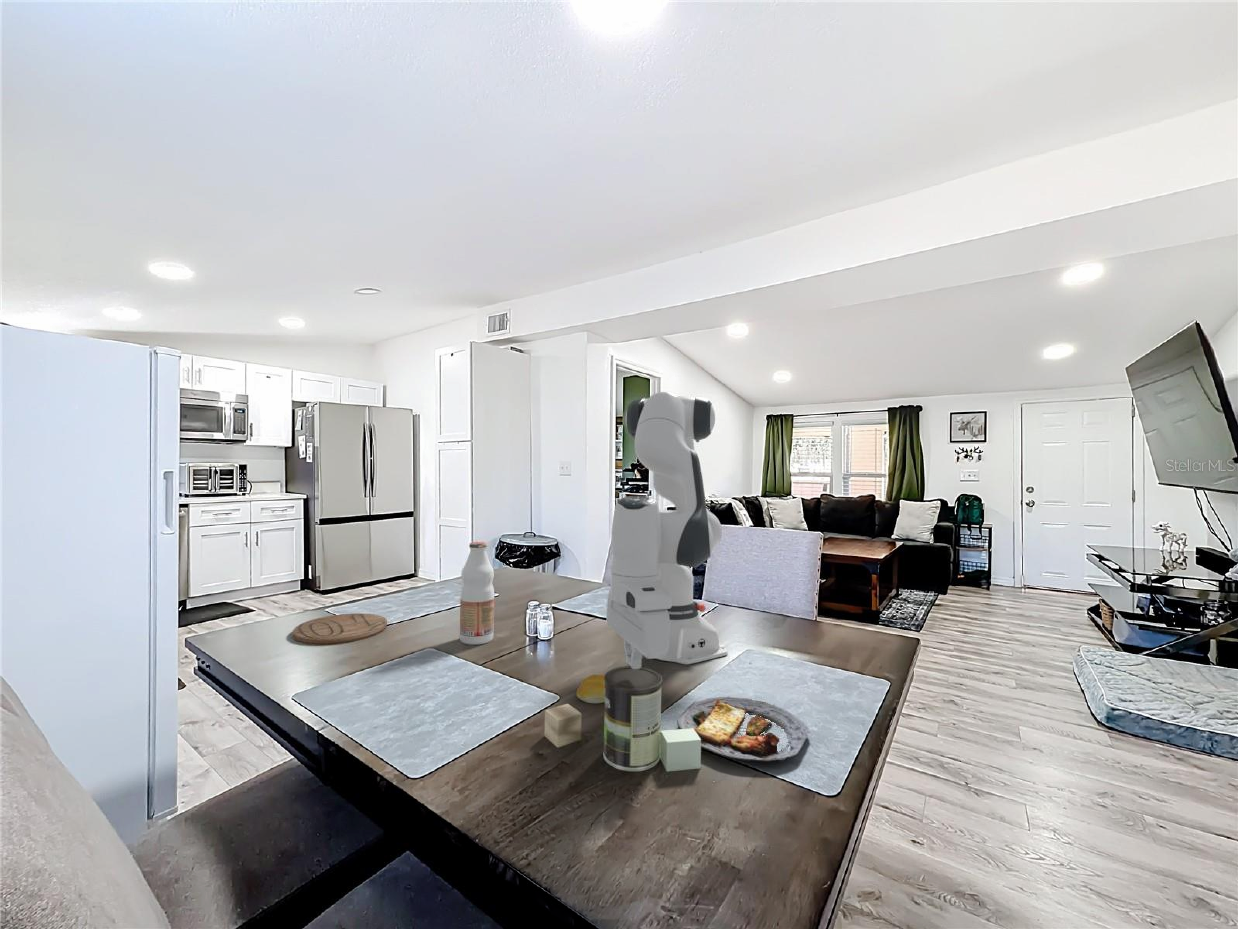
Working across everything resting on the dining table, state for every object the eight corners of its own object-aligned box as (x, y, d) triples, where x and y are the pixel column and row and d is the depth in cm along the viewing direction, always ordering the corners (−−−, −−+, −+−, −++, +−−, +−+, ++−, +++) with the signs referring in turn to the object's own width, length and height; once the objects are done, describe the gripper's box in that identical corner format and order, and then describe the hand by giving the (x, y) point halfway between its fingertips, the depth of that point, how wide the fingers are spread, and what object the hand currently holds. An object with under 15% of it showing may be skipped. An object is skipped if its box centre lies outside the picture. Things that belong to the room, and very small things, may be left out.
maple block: (567, 729, 105) (567, 703, 105) (581, 740, 101) (581, 713, 101) (544, 736, 102) (544, 710, 102) (557, 748, 98) (558, 720, 98)
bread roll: (573, 703, 116) (573, 685, 116) (583, 686, 125) (583, 669, 125) (610, 707, 115) (611, 688, 115) (618, 690, 124) (618, 672, 124)
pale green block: (692, 756, 96) (693, 728, 96) (700, 768, 92) (701, 739, 92) (660, 759, 95) (660, 731, 95) (666, 772, 91) (667, 742, 91)
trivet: (371, 614, 179) (371, 609, 179) (399, 633, 161) (399, 627, 161) (284, 629, 162) (284, 623, 162) (304, 652, 144) (304, 645, 144)
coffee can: (599, 770, 91) (600, 687, 91) (606, 739, 101) (607, 664, 101) (660, 774, 90) (662, 690, 90) (661, 742, 100) (662, 667, 100)
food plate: (785, 786, 87) (785, 764, 87) (658, 745, 100) (658, 726, 100) (818, 727, 109) (818, 710, 109) (710, 699, 121) (710, 684, 121)
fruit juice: (458, 646, 150) (460, 545, 149) (460, 635, 159) (462, 540, 159) (493, 644, 152) (494, 545, 151) (493, 633, 161) (495, 540, 161)
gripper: (599, 577, 104) (597, 648, 104) (641, 604, 85) (639, 691, 85) (629, 575, 106) (627, 645, 106) (677, 601, 87) (675, 686, 87)
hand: (633, 666), depth 96 cm, fingers closed
